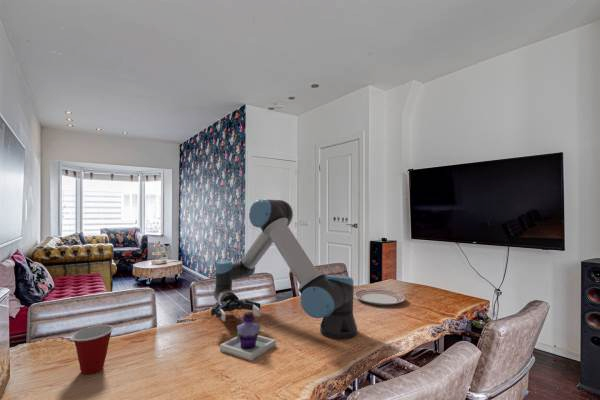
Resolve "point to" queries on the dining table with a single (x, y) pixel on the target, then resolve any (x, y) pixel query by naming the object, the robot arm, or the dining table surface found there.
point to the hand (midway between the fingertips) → (242, 315)
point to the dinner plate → (379, 296)
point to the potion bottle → (248, 331)
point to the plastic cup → (92, 347)
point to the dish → (249, 354)
